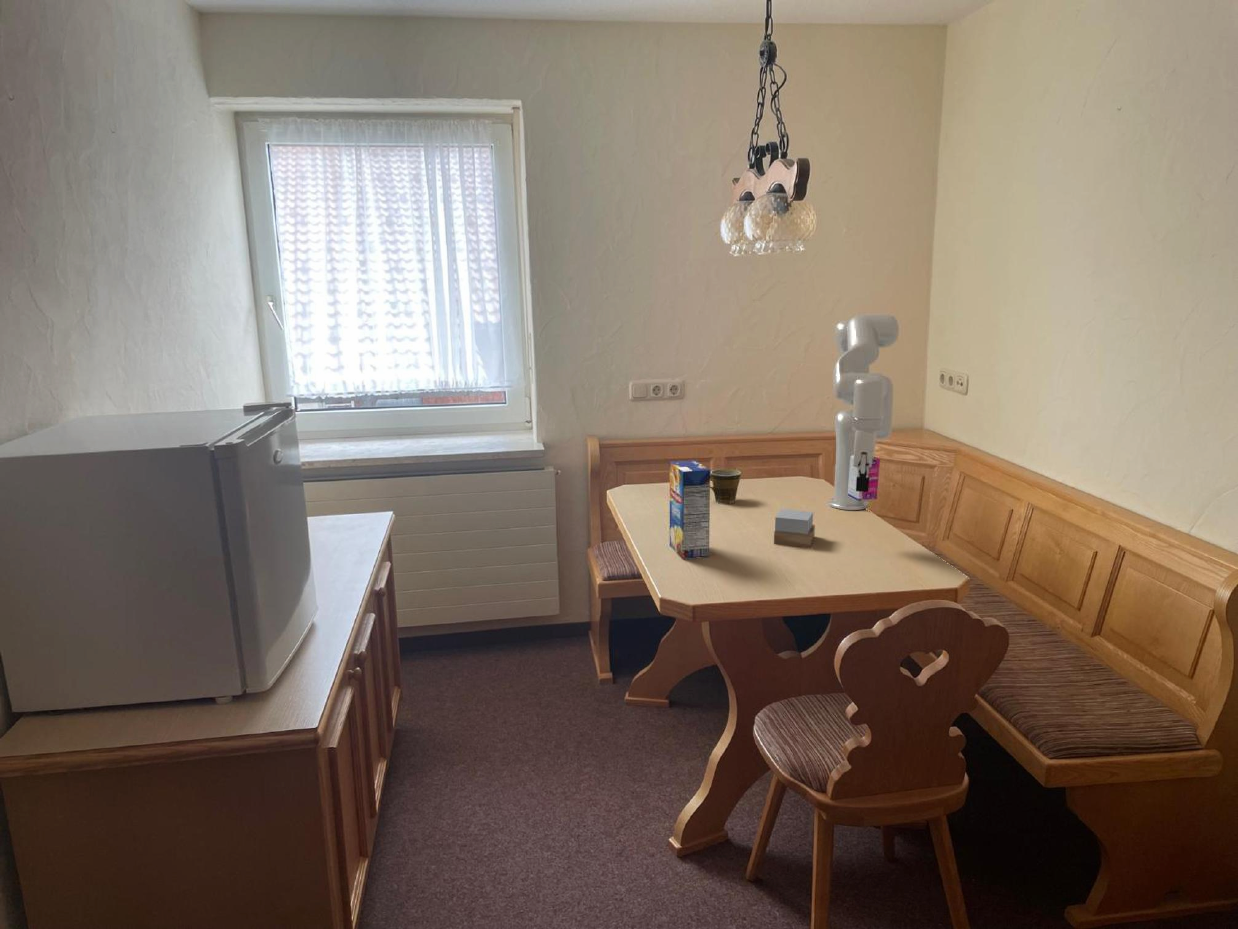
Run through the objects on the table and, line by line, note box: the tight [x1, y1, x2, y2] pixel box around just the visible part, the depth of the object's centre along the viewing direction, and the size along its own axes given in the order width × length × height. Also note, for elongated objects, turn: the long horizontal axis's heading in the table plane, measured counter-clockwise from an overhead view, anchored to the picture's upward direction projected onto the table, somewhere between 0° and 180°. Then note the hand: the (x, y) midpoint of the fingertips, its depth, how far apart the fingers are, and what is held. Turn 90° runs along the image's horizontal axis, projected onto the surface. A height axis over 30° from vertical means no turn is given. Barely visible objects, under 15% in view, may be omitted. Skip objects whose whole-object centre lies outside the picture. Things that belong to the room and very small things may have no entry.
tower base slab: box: [773, 524, 816, 548], centre depth 226 cm, size 10×10×4 cm
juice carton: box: [669, 460, 711, 560], centre depth 216 cm, size 12×8×24 cm, turn 13°
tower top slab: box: [774, 508, 814, 534], centre depth 225 cm, size 9×9×4 cm
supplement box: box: [848, 456, 881, 501], centre depth 217 cm, size 6×6×12 cm
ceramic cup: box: [710, 468, 742, 504], centre depth 267 cm, size 13×10×10 cm
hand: (863, 486), depth 217 cm, fingers closed on supplement box, 7 cm apart
